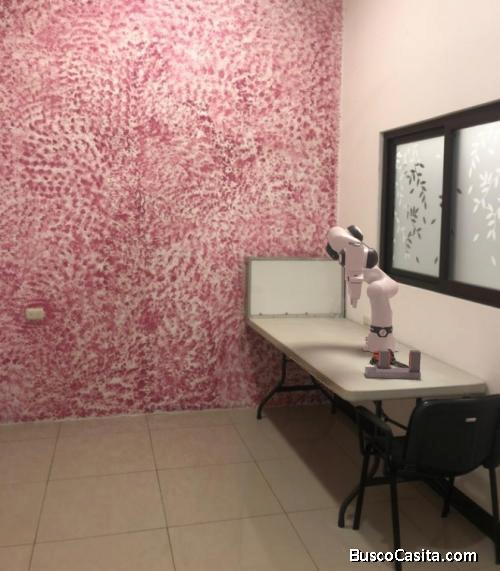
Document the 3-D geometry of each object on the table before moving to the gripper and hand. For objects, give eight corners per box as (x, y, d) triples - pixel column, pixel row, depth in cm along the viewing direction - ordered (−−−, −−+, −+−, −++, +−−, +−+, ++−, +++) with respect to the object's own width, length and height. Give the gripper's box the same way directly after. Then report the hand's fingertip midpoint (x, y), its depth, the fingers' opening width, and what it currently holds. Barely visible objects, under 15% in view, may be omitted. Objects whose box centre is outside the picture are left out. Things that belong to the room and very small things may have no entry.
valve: (359, 363, 308) (383, 356, 314) (392, 378, 285) (417, 371, 291) (358, 352, 306) (382, 345, 313) (391, 366, 283) (416, 358, 290)
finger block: (378, 368, 279) (379, 349, 278) (387, 368, 279) (388, 349, 278) (379, 370, 275) (380, 351, 274) (389, 370, 275) (390, 351, 274)
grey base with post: (364, 373, 282) (365, 347, 280) (416, 374, 280) (418, 349, 279) (366, 377, 274) (367, 351, 273) (420, 379, 272) (421, 353, 271)
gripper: (345, 274, 290) (344, 302, 292) (349, 279, 270) (348, 309, 272) (358, 274, 290) (357, 303, 292) (363, 279, 270) (362, 309, 271)
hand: (353, 306), depth 281 cm, fingers open, 8 cm apart
